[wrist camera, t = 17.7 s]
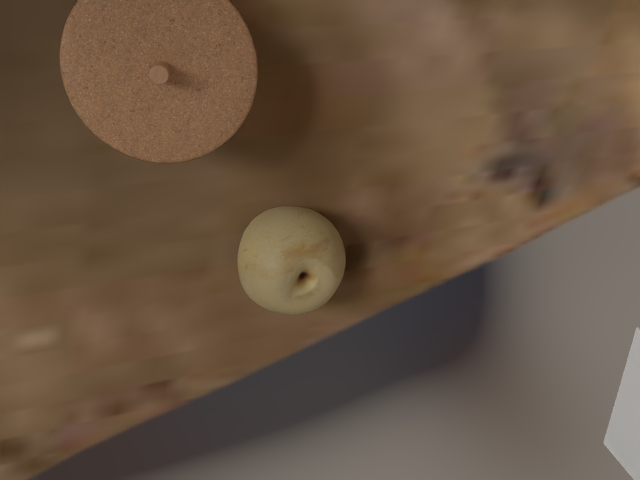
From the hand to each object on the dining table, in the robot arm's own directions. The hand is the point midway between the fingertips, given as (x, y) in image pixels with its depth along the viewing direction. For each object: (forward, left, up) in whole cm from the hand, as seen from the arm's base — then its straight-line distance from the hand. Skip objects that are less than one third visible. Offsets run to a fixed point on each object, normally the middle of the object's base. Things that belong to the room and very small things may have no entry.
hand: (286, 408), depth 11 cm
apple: (+4, -12, -35) cm, 37 cm away
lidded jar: (-4, +2, -35) cm, 35 cm away
